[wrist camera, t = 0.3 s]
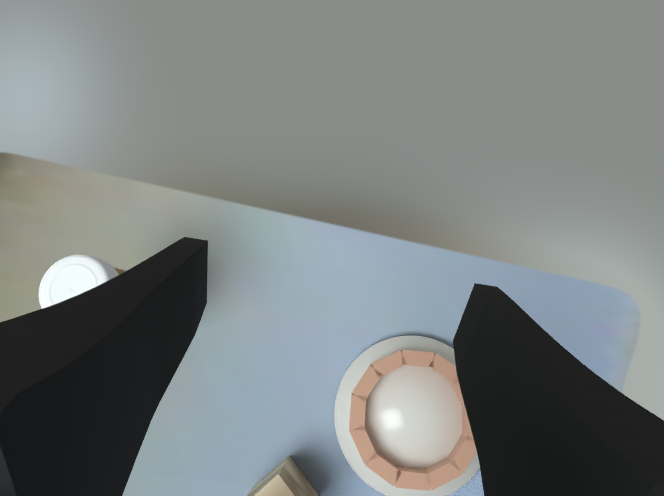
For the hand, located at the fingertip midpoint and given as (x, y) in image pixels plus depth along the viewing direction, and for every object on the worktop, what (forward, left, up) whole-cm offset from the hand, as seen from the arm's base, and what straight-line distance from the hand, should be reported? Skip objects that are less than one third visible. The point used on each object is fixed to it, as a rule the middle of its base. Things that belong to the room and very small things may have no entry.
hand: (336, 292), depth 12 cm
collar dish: (-6, -6, -29) cm, 30 cm away
